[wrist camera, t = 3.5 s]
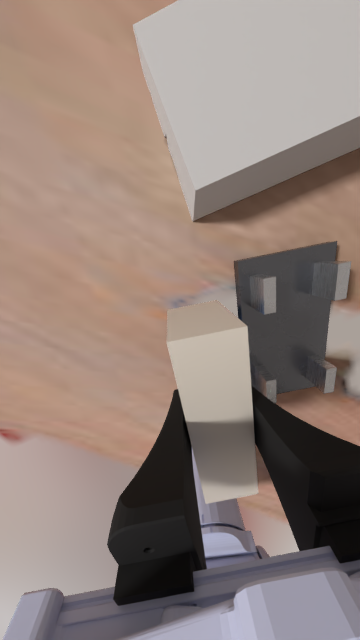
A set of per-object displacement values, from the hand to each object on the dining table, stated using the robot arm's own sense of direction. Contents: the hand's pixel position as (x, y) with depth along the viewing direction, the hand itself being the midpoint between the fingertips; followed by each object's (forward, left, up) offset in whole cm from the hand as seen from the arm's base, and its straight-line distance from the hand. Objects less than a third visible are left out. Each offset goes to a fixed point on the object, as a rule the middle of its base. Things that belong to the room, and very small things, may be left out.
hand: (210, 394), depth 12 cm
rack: (0, -10, -7) cm, 12 cm away
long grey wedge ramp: (+21, -17, -8) cm, 28 cm away
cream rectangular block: (0, 0, -2) cm, 2 cm away
